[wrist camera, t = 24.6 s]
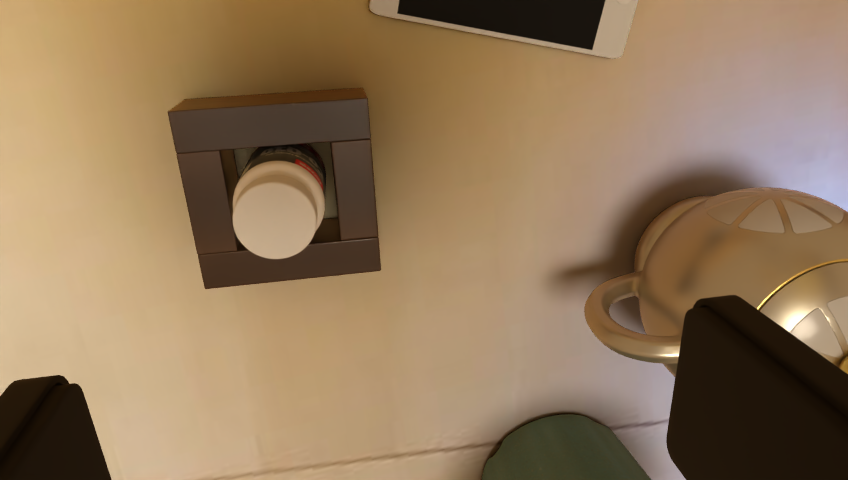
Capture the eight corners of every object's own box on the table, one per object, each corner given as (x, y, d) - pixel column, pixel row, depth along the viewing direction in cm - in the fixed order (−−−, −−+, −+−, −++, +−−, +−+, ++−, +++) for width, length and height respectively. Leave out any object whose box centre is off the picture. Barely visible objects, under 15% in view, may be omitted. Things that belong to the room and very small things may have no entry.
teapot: (794, 144, 41) (1067, 228, 26) (770, 313, 46) (984, 465, 31) (544, 182, 39) (681, 297, 24) (549, 354, 44) (664, 536, 29)
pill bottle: (336, 151, 36) (339, 192, 28) (312, 220, 37) (308, 277, 30) (259, 125, 35) (240, 160, 27) (237, 197, 36) (213, 250, 28)
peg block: (184, 99, 33) (167, 111, 30) (363, 87, 35) (367, 98, 31) (216, 261, 37) (204, 289, 34) (375, 245, 39) (381, 271, 35)
